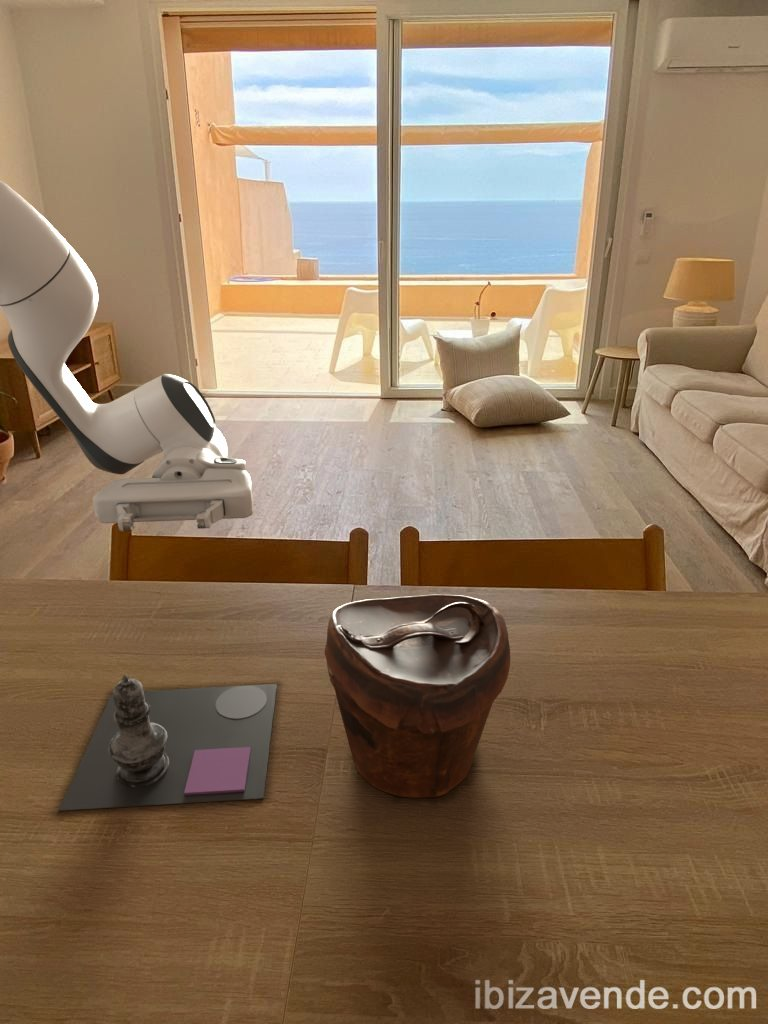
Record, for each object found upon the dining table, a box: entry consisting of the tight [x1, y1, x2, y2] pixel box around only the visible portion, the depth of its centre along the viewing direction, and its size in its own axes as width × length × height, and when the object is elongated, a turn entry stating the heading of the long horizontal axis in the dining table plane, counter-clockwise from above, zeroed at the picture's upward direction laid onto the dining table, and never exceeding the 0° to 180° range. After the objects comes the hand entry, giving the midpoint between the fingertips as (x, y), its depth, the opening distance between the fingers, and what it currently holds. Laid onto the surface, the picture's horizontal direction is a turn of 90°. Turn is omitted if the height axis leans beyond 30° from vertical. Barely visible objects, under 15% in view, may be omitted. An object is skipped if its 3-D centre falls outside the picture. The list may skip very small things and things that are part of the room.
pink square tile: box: [184, 747, 251, 795], centre depth 73 cm, size 6×6×1 cm
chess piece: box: [108, 674, 169, 787], centre depth 71 cm, size 6×6×12 cm
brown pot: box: [324, 593, 511, 799], centre depth 71 cm, size 18×20×18 cm
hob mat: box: [58, 683, 278, 812], centre depth 77 cm, size 20×18×1 cm
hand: (163, 524), depth 85 cm, fingers open, 8 cm apart
